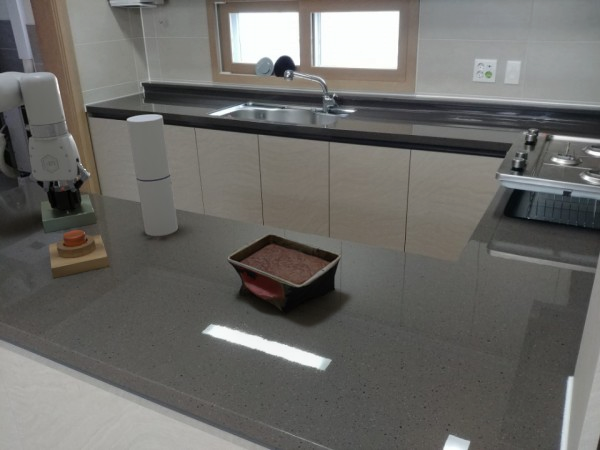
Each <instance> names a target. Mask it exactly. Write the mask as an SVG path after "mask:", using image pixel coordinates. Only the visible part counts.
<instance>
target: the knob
mask: <svg viewBox="0 0 600 450" xmlns="http://www.w3.org/2000/svg"><path fill="white" fill-rule="evenodd" d="M70 192H71V189H70V187H69V185H60V186H56V187H55V188H54V189H53V195H54V199H55V203H56V208H57V209H59V210H65V209H70V208H73V207H72V204H71V199H70V195H69V193H70Z"/></svg>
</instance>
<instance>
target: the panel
mask: <svg viewBox="0 0 600 450" xmlns="http://www.w3.org/2000/svg"><path fill="white" fill-rule="evenodd" d="M80 195H81V199H82V201H81V204H80V205H79V206H78V207H76V208H70V209H65V210H59V209H57V208H56V207H55V208H51V205H50V203H49V200H45V201H44V200H43V201H40V208H41V221H42V225H43V229H44V230H43V231H44V234H49V233H53V232H54V233H55V232H59V231H64V230H68V229H69V230H70V229H74V228H81V227H85V226H90V225H94V224H95V225H96V224H97V219H96V213H95V210H94V207H93V203H92V201H91V198H90V195H89V194H88V193H87V194H80Z"/></svg>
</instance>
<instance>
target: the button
mask: <svg viewBox="0 0 600 450" xmlns="http://www.w3.org/2000/svg"><path fill="white" fill-rule="evenodd" d="M85 235H86V232H85V231H84V230H81V229H80V230H79V229H76V230H71V231H68V232H65V233H64V234H63V235H62V239H63V240H64V244H65V246H66V247H75V246H80V245H82V244H85V243H86V237H85Z"/></svg>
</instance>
